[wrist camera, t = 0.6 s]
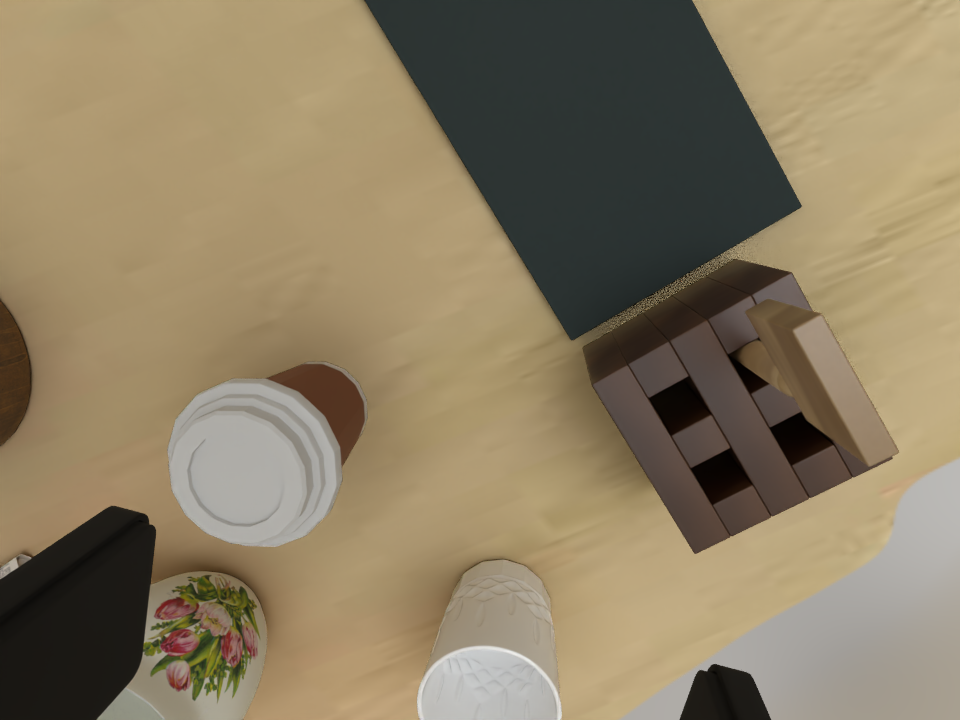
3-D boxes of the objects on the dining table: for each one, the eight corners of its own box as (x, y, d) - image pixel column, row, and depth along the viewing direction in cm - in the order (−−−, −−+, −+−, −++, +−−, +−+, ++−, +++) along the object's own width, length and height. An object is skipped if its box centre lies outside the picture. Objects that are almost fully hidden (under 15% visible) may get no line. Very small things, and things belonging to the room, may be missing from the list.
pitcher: (147, 476, 45) (-21, 584, 32) (349, 630, 46) (268, 798, 33) (73, 580, 48) (-110, 721, 35) (266, 724, 49) (160, 914, 36)
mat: (586, -191, 34) (586, -198, 33) (798, 206, 37) (802, 206, 36) (356, -14, 37) (353, -18, 36) (571, 339, 40) (571, 341, 40)
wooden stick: (695, 274, 39) (828, 309, 19) (736, 344, 39) (907, 449, 20) (674, 286, 39) (784, 333, 19) (714, 356, 39) (863, 471, 20)
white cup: (548, 544, 43) (548, 639, 34) (566, 646, 45) (572, 766, 35) (435, 557, 44) (403, 653, 35) (456, 657, 46) (432, 775, 36)
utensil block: (736, 258, 38) (791, 271, 29) (817, 404, 39) (893, 458, 31) (582, 347, 40) (591, 384, 31) (664, 483, 42) (694, 554, 33)
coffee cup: (294, 313, 42) (195, 352, 30) (413, 390, 42) (361, 458, 30) (231, 425, 44) (117, 501, 32) (345, 497, 44) (272, 598, 32)
